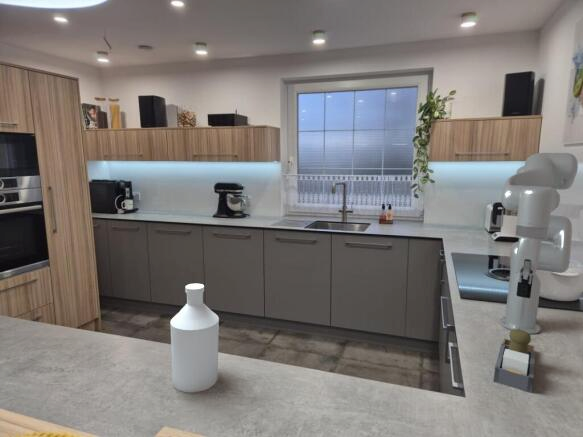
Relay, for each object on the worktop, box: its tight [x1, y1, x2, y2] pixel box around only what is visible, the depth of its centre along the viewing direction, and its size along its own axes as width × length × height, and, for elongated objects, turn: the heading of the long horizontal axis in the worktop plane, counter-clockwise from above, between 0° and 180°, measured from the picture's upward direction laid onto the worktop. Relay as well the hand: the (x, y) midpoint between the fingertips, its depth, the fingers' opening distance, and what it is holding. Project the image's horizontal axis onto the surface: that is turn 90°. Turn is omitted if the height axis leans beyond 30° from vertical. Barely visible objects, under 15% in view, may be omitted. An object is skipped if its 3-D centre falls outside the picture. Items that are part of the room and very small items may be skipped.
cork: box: [508, 329, 532, 354], centre depth 106 cm, size 6×6×11 cm
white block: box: [502, 349, 529, 376], centre depth 99 cm, size 6×6×7 cm
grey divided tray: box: [493, 343, 536, 394], centre depth 103 cm, size 17×9×4 cm, turn 145°
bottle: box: [170, 283, 220, 393], centre depth 94 cm, size 12×12×25 cm
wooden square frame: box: [502, 338, 536, 352], centre depth 114 cm, size 8×8×2 cm
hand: (524, 292), depth 104 cm, fingers open, 9 cm apart
